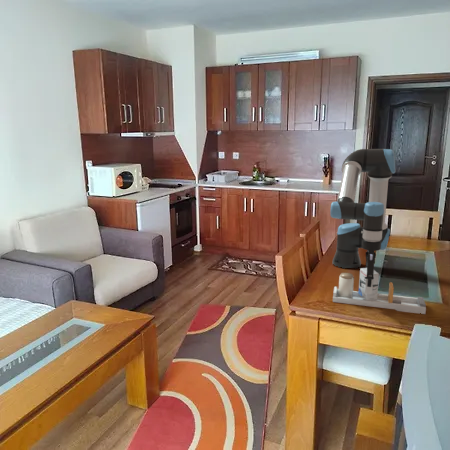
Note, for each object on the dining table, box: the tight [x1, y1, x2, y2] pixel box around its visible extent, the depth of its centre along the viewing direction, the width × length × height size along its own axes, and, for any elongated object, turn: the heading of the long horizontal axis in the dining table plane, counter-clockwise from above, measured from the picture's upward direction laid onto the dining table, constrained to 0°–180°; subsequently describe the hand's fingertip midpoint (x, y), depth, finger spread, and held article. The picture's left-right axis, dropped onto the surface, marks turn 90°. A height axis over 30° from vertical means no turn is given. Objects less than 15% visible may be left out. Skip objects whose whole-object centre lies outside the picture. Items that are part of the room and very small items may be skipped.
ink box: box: [358, 267, 380, 301], centre depth 168 cm, size 8×5×12 cm, turn 5°
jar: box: [338, 272, 355, 299], centre depth 172 cm, size 6×6×11 cm
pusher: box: [387, 281, 401, 304], centre depth 166 cm, size 7×5×8 cm
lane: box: [332, 286, 427, 315], centre depth 168 cm, size 10×36×4 cm, turn 72°
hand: (368, 287), depth 169 cm, fingers open, 13 cm apart
